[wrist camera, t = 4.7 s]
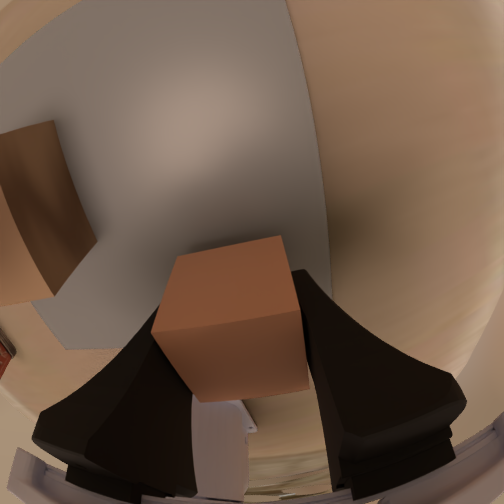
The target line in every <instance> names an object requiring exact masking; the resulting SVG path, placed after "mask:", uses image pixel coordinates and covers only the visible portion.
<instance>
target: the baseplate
mask: <svg viewBox="0 0 504 504" xmlns="http://www.w3.org/2000/svg"><path fill="white" fill-rule="evenodd" d="M50 120H54V123H55V127H56V131H57V134H58V138H59V141H60V145H61V148H62V151H63V154H64V158H65V161H66V164H67V167H68V170H69V172H70V175H71V178H72V181H73V184H74V186H75V189H76V192H77V194H78V197H79V199H80V202H81V204H82V207H83V209H84V212H85V214H86V217H87V219H88V221H89V224H90V226H91V228H92V230H93V233H94V235H95V237H96V239H97V241H98V242H97V243H96V244H95V245H94V247H93V248H92V249H91V250H90V251H89V253H88V254H87V255H86V256H85V257H84V259H83V260H82V261H81V262H80V264H79V265H78V266H77V267H76V269H75V270H74V271H73V273H72V274H71V275H70V276H69V278H68V279H67V280H66V282H65V283H64V284H63V286H62V287H61V288H60V290H59V291H58V293H57V294H56V295H55V297H51V298H45V299H40V300H34V301H30V302H31V303H32V305H33V306H34V308H35V309H36V311H37V312H38V314H39V315H40V317H41V318H42V319H43V321H44V322H45V324H46V325H47V326H48V328H49V329H50V330H51V332H52V333H53V334H54V336H55V337H56V338H57V339H58V341H59V342H60V343H61V344H62V346H63V347H64V348H65V349H110V348H124V347H125V346H126V345H127V343H128V342H129V341H130V340H131V339H132V338H133V336H134V335H135V334H136V333H137V332H138V331H139V329H140V328H141V327H142V326H143V324H144V323H145V322H146V321H147V319H148V318H149V317H150V316H151V314H152V313H153V312H154V311H155V309H156V308H157V307H158V306H159V304H160V303H161V300H162V297H163V294H164V291H165V289H166V286H167V283H168V280H169V277H170V275H171V272H172V269H173V267H174V264H175V261H176V259H177V256H181V255H186V254H191V253H196V252H200V251H205V250H210V249H215V248H220V247H224V246H229V245H234V244H239V243H244V242H249V241H254V240H259V239H264V238H269V237H274V236H279V235H281V238H282V241H283V245H284V249H285V252H286V256H287V260H288V264H289V267H290V271H295V270H300V269H305V270H307V271H308V273H309V274H310V276H311V277H312V278H313V279H314V281H315V282H316V283H317V284H318V285H319V287H320V288H321V289H322V290H323V291H324V292H325V293H326V294H327V295H328V296H329V297H330V298H331V299H332V280H331V262H330V248H329V235H328V224H327V214H326V204H325V195H324V187H323V179H322V171H321V164H320V157H319V150H318V143H317V137H316V131H315V125H314V120H313V114H312V109H311V103H310V98H309V93H308V88H307V84H306V79H305V74H304V70H303V66H302V61H301V57H300V53H299V49H298V45H297V41H296V37H295V33H294V30H293V26H292V22H291V19H290V15H289V12H288V9H287V5H286V2H285V0H82V1H80V2H79V3H77V4H76V5H74V6H72V7H71V8H69V9H68V10H66V11H65V12H63V13H62V14H60V15H59V16H57V17H56V18H54V19H53V20H52V21H50V22H49V23H47V24H46V25H45V26H43V27H42V28H41V29H40V30H38V31H37V32H36V33H34V34H33V35H32V36H31V37H30V38H28V39H27V40H26V41H25V42H24V43H22V44H21V45H20V46H19V47H18V48H17V49H16V50H15V51H14V52H12V53H11V54H10V55H9V56H8V57H7V58H6V59H5V60H4V61H3V62H2V63H1V64H0V134H3V133H6V132H9V131H12V130H16V129H19V128H23V127H26V126H30V125H34V124H38V123H42V122H46V121H50Z"/></svg>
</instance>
